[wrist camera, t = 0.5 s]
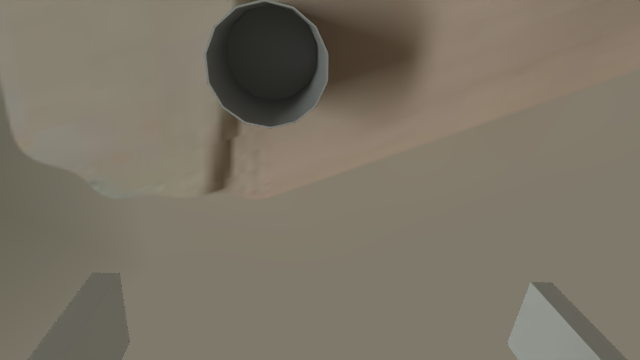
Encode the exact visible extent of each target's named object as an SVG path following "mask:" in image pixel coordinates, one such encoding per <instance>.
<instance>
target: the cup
mask: <svg viewBox="0 0 640 360" xmlns="http://www.w3.org/2000/svg"><path fill="white" fill-rule="evenodd" d="M204 57H205V66H206V75H207V83H208V85H209V86H210V88H211V90H212V91H213V93H214V95H215V96H216V98H217V100H218V101H219V103H220V105H221V106H222V108H224V109H225V110H226V111H228V112H229V113H231V114H232V115H233V116H235V117H236V118H238V119H239V120H241V121H242V122H243V123H245V124H250V125H255V126H260V127H265V128H270V129H271V128H276V127H280V126H284V125H288V124H292V123H296V122H297V121H299V120H300V119H301V118H302V117H304V116H305V115H306V114H307V113H308V112H310V111H311V110H312V109H313V108H315V107H316V106H317V104H318V102H319V100H320V98H321V95H322V93H323V91H324V89H325V87H326V85H327V83H328V51H327V49H326V47H325V45H324V42H323V40H322V38H321V36H320V33H319V31H318V29H317V27H316V26H315V25H314V24H313V23H312V22H311V21H310V20H309V19H307V18H306V17H305V16H304V15H303V14H302V13H300V12H299V11H298V10H297V9H296V8H295V7H293V6H289V5H286V4H282V3H278V2H274V1H270V0H259V1H255V2H251V3H246V4H242V5H238V6H235V7H234V8H233V9H232V10H231V11H230V12H229V13H228V14H227V15H225V16H224V17H223V18H222V19H221V20H220V21H219V22H218V23H217V24H216V25H215V26H214V27H213V30H212V33H211V36H210V39H209V41H208V44H207V47H206V50H205V53H204Z"/></svg>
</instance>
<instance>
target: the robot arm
mask: <svg viewBox="0 0 640 360" xmlns="http://www.w3.org/2000/svg"><path fill="white" fill-rule="evenodd" d="M129 342H130V340H129V333H128V327H127V320H126V313H125V306H124V299H123V292H122V285H121V279H120V273H92V274H91V275H90V277H89V278H88V279H87V281H86V282H85V283H84V285H83V286H82V287H81V289H80V290H79V291H78V293H77V294H76V295H75V297H74V298H73V299H72V301H71V302H70V303H69V305H68V306H67V307H66V309H65V310H64V311H63V313H62V314H61V315H60V317H59V318H58V319H57V321H56V322H55V323H54V325H53V326H52V328H51V329H50V330H49V332H48V333H47V334H46V336H45V337H44V338H43V340H42V341H41V342H40V344H39V345H38V346H37V348H36V349H35V350H34V352H33V353H32V354H31V356H30V357H29V359H28V360H121V359H122V357H123V355H124V353H125V351H126V349H127V347H128V345H129ZM508 345H509V347H510V348H511V350H512V351H513V352H514V354H515V356H516V357H517V359H518V360H627V359H626V358H625V357H624V356H623V355H622V354H621V353H620V352H619V351H618V350H617V349H616V348H615V346H614V345H612V343H611V342H609V340H608V339H607V338H606V337H605V336H604V335H603V334H602V333H601V332H600V331H599V330H598V329H597V328H596V327H595V326H594V325H593V324H592V323H591V322H590V321H589V320H588V319H587V318H586V317H585V316H584V315H583V314H582V313H581V312H580V311H579V310H578V309H577V308H576V307H575V306H574V305H573V304H572V303H571V302H570V301H569V300H568V299H567V298H566V297H565V296H564V295H563V294H562V293H561V291H559V289H558V288H557V287H556V286H554V284H553V283H544V282H531V283H530V285H529V288H528V291H527V293H526V296H525V299H524V301H523V304H522V306H521V309H520V311H519V314H518V317H517V319H516V322H515V324H514V327H513V330H512V332H511V335H510V338H509V340H508Z"/></svg>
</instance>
